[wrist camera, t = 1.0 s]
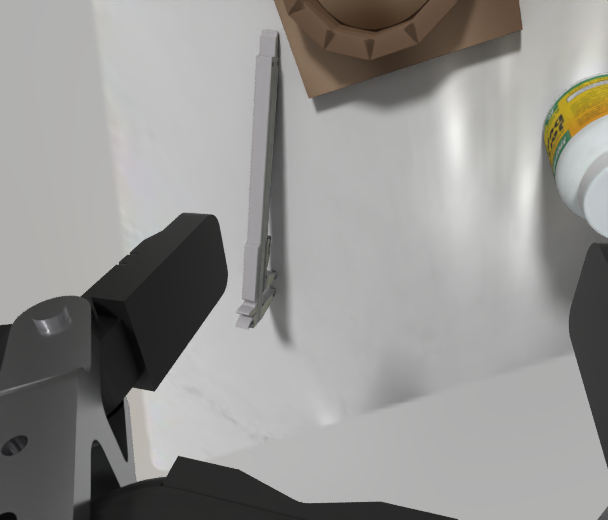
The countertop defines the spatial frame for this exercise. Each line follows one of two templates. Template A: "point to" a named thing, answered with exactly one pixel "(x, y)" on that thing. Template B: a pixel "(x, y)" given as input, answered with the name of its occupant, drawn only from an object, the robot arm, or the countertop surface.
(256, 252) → the caliper
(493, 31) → the bottle holder
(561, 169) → the supplement bottle
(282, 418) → the countertop surface
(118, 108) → the countertop surface
